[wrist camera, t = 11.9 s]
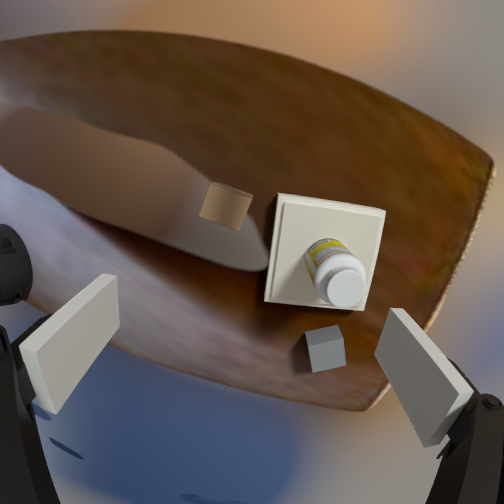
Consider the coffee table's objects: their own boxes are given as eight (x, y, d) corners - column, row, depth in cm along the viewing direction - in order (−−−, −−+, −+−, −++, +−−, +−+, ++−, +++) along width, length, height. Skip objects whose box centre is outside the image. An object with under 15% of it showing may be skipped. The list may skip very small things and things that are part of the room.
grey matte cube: (309, 357, 45) (312, 372, 41) (304, 331, 44) (308, 346, 40) (340, 350, 45) (345, 365, 41) (337, 324, 43) (343, 338, 40)
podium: (264, 294, 42) (264, 303, 39) (277, 192, 38) (279, 195, 36) (358, 303, 42) (364, 312, 39) (379, 208, 38) (387, 211, 35)
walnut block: (206, 210, 39) (198, 216, 35) (217, 181, 38) (210, 183, 34) (242, 223, 40) (239, 231, 35) (253, 195, 39) (251, 199, 34)
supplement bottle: (336, 284, 38) (357, 322, 29) (297, 270, 38) (308, 306, 28) (354, 246, 37) (383, 273, 27) (315, 229, 36) (333, 253, 27)
